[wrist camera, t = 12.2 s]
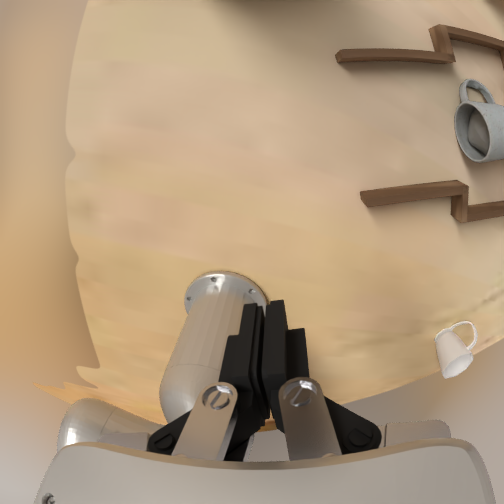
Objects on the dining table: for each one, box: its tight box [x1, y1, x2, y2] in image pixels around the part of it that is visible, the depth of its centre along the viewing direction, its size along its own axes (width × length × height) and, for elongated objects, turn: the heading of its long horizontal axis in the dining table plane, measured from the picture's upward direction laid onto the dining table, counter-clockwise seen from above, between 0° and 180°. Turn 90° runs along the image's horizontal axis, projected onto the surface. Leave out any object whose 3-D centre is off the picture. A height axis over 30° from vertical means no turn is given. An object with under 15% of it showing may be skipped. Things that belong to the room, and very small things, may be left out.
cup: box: [434, 321, 478, 378], centre depth 38 cm, size 7×10×8 cm
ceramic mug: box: [454, 79, 504, 163], centre depth 21 cm, size 11×8×8 cm
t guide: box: [335, 24, 504, 223], centre depth 24 cm, size 26×29×3 cm
